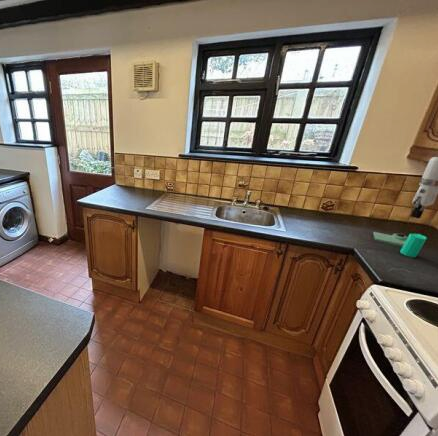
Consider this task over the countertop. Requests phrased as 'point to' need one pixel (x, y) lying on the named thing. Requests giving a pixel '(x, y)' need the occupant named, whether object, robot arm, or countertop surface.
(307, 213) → the countertop surface
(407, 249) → the candle
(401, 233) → the tare button
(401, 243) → the scale
